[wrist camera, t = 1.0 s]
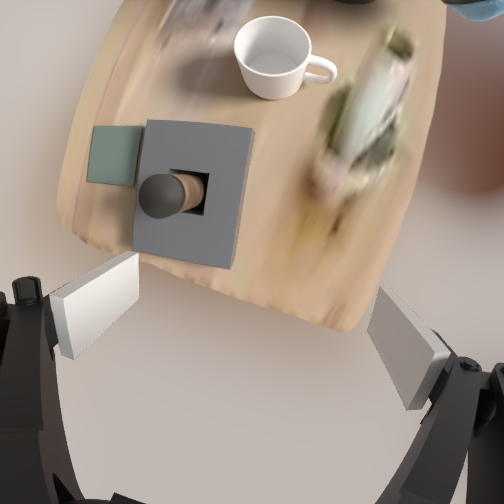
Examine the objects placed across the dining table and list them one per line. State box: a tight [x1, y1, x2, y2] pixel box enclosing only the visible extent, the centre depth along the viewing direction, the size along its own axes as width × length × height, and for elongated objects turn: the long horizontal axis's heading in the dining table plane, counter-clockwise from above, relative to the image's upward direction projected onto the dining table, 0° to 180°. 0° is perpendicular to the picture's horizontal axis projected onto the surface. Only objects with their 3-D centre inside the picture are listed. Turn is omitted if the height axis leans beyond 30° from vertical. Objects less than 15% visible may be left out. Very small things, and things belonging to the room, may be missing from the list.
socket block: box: [132, 120, 255, 270], centre depth 37 cm, size 18×14×4 cm
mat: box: [87, 126, 143, 186], centre depth 39 cm, size 9×9×1 cm
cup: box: [233, 16, 337, 100], centre depth 29 cm, size 8×12×10 cm
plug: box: [139, 174, 208, 219], centre depth 33 cm, size 4×4×13 cm
